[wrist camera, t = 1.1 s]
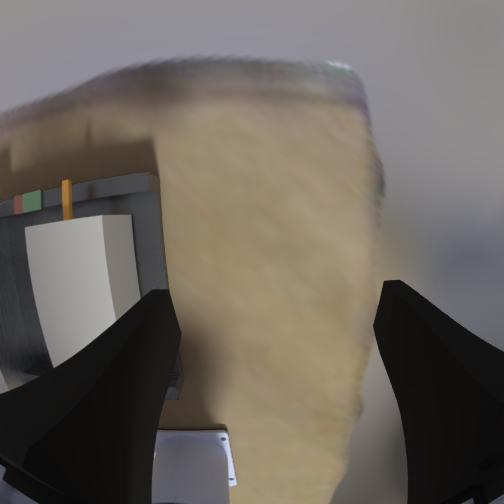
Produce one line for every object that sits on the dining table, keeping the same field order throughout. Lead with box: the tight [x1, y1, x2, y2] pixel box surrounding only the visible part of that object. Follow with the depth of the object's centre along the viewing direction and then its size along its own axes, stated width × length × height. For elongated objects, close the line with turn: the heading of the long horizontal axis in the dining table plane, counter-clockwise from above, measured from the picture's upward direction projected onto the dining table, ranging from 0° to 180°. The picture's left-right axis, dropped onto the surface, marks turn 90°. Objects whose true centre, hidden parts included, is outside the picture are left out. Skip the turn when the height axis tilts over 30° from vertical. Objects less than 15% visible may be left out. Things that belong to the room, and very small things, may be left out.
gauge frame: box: [0, 172, 184, 400], centre depth 17 cm, size 16×18×6 cm
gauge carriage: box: [25, 179, 141, 368], centre depth 17 cm, size 14×6×5 cm, turn 4°
